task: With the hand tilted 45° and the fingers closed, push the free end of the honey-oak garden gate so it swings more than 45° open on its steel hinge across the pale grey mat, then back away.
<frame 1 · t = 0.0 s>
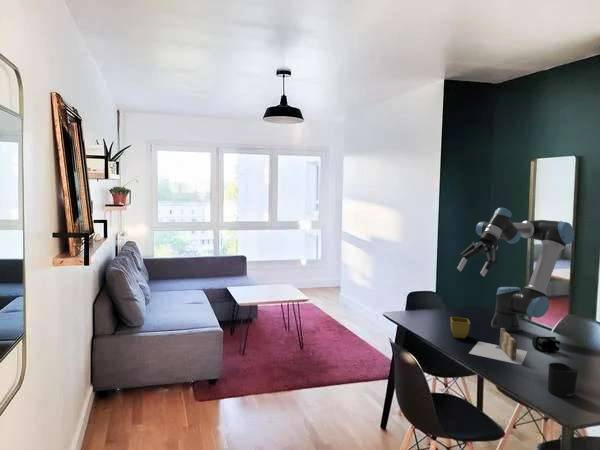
hand: (470, 272, 222), 36 cm above the table, tool tilted 35°, fingers open, 13 cm apart
flower pot: (458, 337, 239), on the table
pen holder: (560, 393, 175), on the table
gate: (507, 343, 215), point 5 cm above the table, hinge at 0.0°
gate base: (498, 353, 217), on the table
end cap: (545, 351, 224), on the table
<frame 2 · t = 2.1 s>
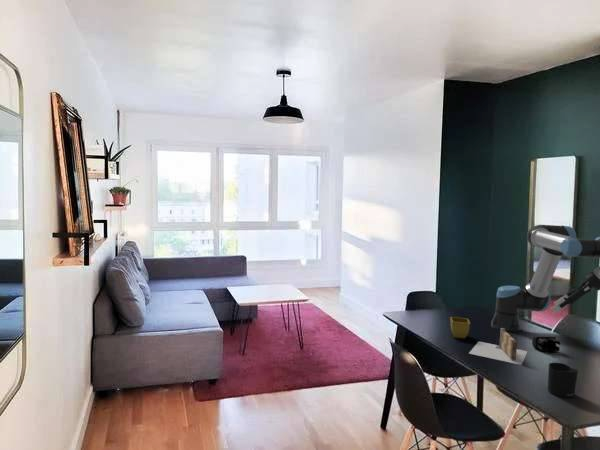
hand: (554, 308, 201), 26 cm above the table, tool tilted 45°, fingers open, 12 cm apart
nothing on the table moved.
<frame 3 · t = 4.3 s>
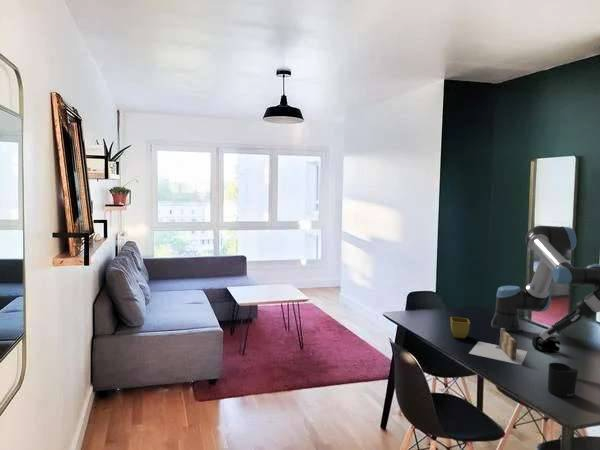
hand: (541, 337, 204), 12 cm above the table, tool tilted 45°, fingers closed
nothing on the table moved.
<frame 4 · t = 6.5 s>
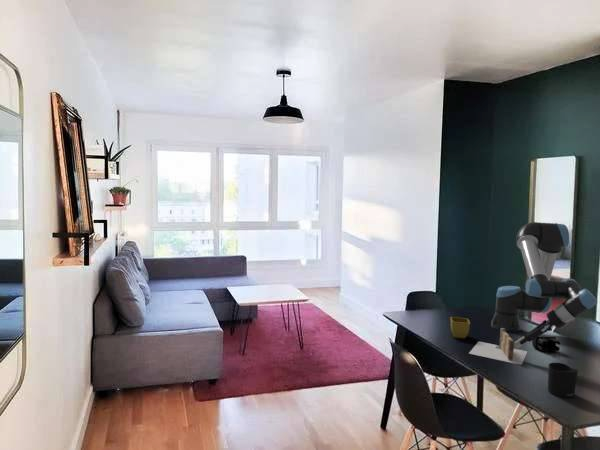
hand: (514, 346, 210), 6 cm above the table, tool tilted 45°, fingers closed
gate: (506, 343, 215), point 5 cm above the table, hinge at -4.2°, touching gripper
everything else where it was.
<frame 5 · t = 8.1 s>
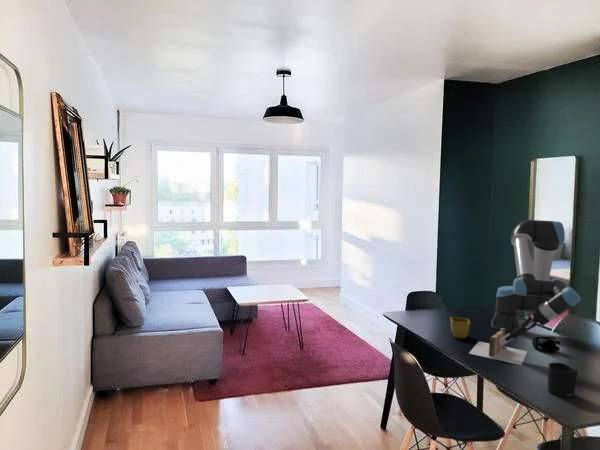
hand: (500, 343, 213), 6 cm above the table, tool tilted 45°, fingers closed
gate: (497, 341, 217), point 5 cm above the table, hinge at -31.1°, touching gripper
everything else where it was.
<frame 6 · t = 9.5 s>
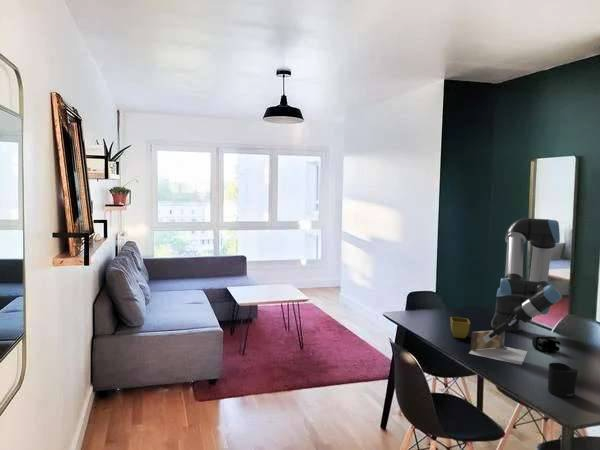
hand: (484, 340, 217), 6 cm above the table, tool tilted 45°, fingers closed
gate: (488, 338, 221), point 5 cm above the table, hinge at -62.7°, touching gripper
everything else where it was.
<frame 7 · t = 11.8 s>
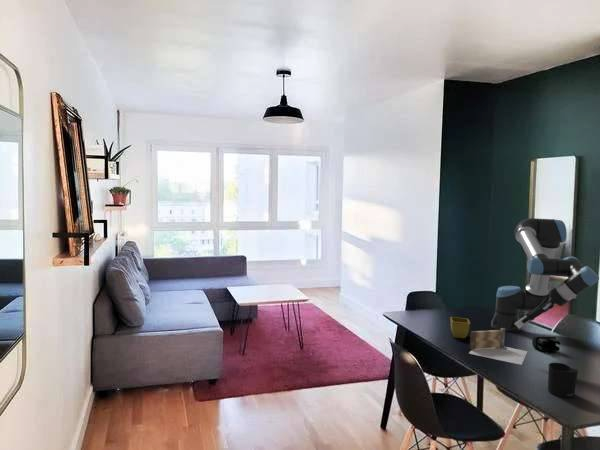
hand: (517, 325, 210), 15 cm above the table, tool tilted 45°, fingers closed
gate: (487, 338, 221), point 5 cm above the table, hinge at -65.1°
everything else where it was.
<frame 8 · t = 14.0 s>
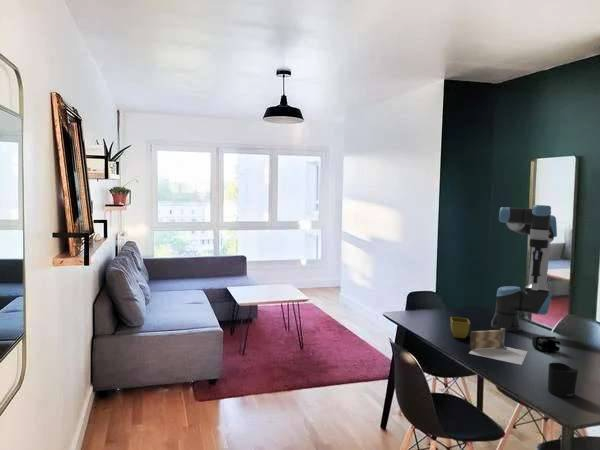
hand: (534, 289, 215), 30 cm above the table, tool pointing down, fingers closed
nothing on the table moved.
at the end: gate at -65° (first picture: +0°); flower pot moved 0.3 cm from its start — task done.
